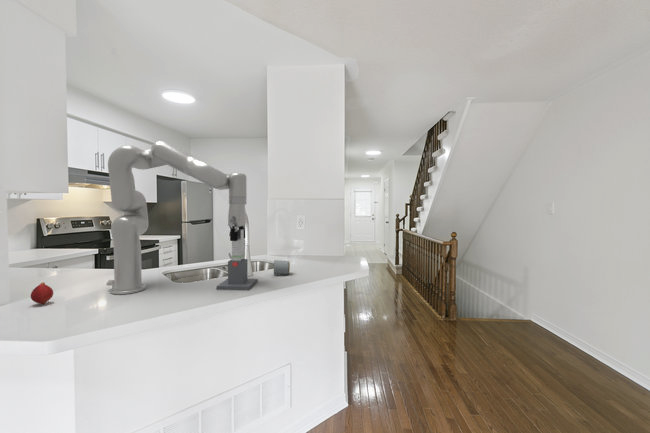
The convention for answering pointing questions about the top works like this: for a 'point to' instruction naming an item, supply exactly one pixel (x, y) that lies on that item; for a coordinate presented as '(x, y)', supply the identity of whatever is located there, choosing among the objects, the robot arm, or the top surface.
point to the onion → (42, 293)
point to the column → (238, 247)
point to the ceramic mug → (281, 267)
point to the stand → (237, 277)
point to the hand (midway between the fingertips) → (237, 239)
